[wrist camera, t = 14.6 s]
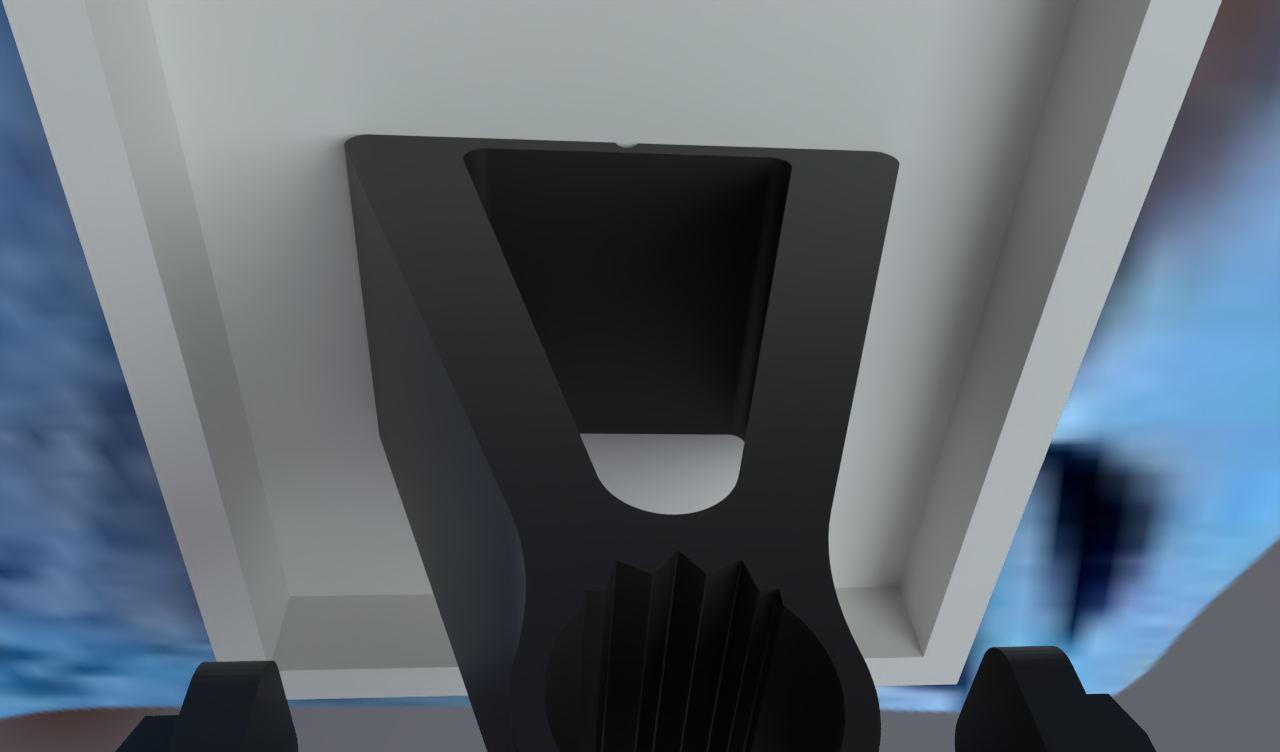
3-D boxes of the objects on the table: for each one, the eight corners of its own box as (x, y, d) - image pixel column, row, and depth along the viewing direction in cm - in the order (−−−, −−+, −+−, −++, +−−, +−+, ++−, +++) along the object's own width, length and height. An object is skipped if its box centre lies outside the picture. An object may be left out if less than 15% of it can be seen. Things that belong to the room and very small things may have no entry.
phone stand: (379, 419, 20) (210, 1176, 10) (348, 129, 16) (39, 881, 7) (829, 425, 21) (1063, 1130, 11) (894, 151, 17) (1326, 847, 7)
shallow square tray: (229, 614, 25) (191, 729, 22) (-84, -436, 13) (-248, -449, 10) (946, 602, 26) (988, 709, 23) (1279, -351, 14) (1440, -344, 11)
